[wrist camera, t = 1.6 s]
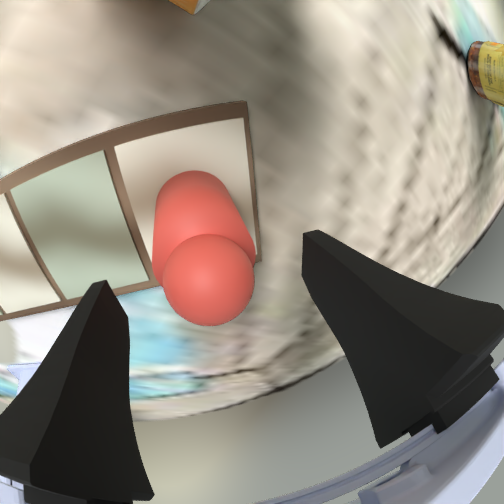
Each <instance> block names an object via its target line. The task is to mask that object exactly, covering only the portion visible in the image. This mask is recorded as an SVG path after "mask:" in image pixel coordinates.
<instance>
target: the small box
mask: <svg viewBox="0 0 504 504" xmlns="http://www.w3.org/2000/svg"><path fill="white" fill-rule="evenodd" d="M168 1H170V2H172V3H174V4H175V5H177V6H179V7H180V8H182V9H184V10H185V11H187V12H188V13H190V14H192V15H195V14H196V13H197V12H198V11H199V10H201V9H202V8H203V7H204V6H205V5H206V4H207V3H208V2H209V1H210V0H168Z"/></svg>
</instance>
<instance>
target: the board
mask: <svg viewBox="0 0 504 504" xmlns="http://www.w3.org/2000/svg"><path fill="white" fill-rule="evenodd" d="M192 170H198V171H204V172H207V173H210V174H212V175H214V176H216V177H217V178H218V179H219V180H221V181H222V183H223V184H224V185H225V187H226V189H227V190H228V192H229V194H230V196H231V198H232V200H233V202H234V204H235V206H236V208H237V210H238V212H239V214H240V216H241V218H242V220H243V222H244V224H245V226H246V228H247V230H248V232H249V234H250V236H251V238H252V240H253V242H254V245H255V250H256V258H255V263H256V262H260V261H262V258H261V247H260V236H259V225H258V214H257V203H256V192H255V181H254V171H253V160H252V150H251V140H250V129H249V119H248V110H247V102H246V101H236V102H228V103H222V104H215V105H209V106H203V107H198V108H193V109H188V110H183V111H178V112H173V113H169V114H165V115H161V116H157V117H153V118H149V119H145V120H141V121H138V122H134V123H131V124H128V125H124V126H121V127H118V128H115V129H112V130H109V131H106V132H103V133H100V134H97V135H94V136H91V137H89V138H86V139H83V140H81V141H78V142H76V143H73V144H71V145H68V146H66V147H63V148H61V149H59V150H57V151H54V152H52V153H50V154H48V155H45V156H43V157H41V158H39V159H37V160H35V161H33V162H31V163H29V164H27V165H25V166H23V167H21V168H19V169H17V170H16V171H14V172H12V173H10V174H8V175H6V176H5V177H3V178H1V179H0V321H3V320H8V319H13V318H18V317H22V316H27V315H32V314H36V313H41V312H46V311H50V310H55V309H59V308H64V307H69V306H73V305H78V304H79V302H80V300H81V299H82V297H83V296H84V294H85V293H86V291H87V290H88V288H89V287H90V286H91V284H92V283H94V282H99V281H103V280H107V281H108V283H109V285H110V287H111V289H112V291H113V292H114V294H115V296H117V295H122V294H126V293H131V292H135V291H139V290H143V289H148V288H152V287H156V286H161V285H160V284H159V282H158V281H157V279H156V277H155V275H154V272H153V269H152V246H153V230H154V218H155V206H156V199H157V196H158V193H159V191H160V189H161V188H162V186H163V185H164V184H165V183H166V182H167V181H168V180H169V179H170V178H172V177H173V176H175V175H177V174H179V173H182V172H185V171H192Z"/></svg>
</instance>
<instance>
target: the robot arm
mask: <svg viewBox="0 0 504 504" xmlns="http://www.w3.org/2000/svg"><path fill="white" fill-rule="evenodd" d="M302 277H303V280H304V282H305V284H306V287H307V289H308V291H309V293H310V295H311V297H312V299H313V301H314V302H315V304H316V306H317V307H318V309H319V311H320V312H321V314H322V316H323V317H324V319H325V320H326V322H327V324H328V325H329V327H330V328H331V330H332V332H333V333H334V335H335V337H336V338H337V340H338V342H339V343H340V345H341V347H342V349H343V351H344V353H345V355H346V357H347V359H348V362H349V364H350V366H351V368H352V371H353V373H354V376H355V378H356V380H357V383H358V386H359V388H360V391H361V393H362V396H363V399H364V402H365V405H366V408H367V410H368V413H369V417H370V420H371V424H372V427H373V430H374V434H375V438H376V441H377V443H378V445H379V447H380V448H383V447H384V446H386V445H388V444H390V443H392V442H393V441H395V440H397V439H398V438H400V437H401V436H403V435H405V434H406V433H408V432H409V433H410V435H411V438H409V439H408V440H406V441H405V442H403V443H401V444H400V445H398V446H396V447H395V448H393V449H391V450H390V451H388V452H386V453H384V454H382V455H381V456H379V457H377V458H375V459H373V460H371V461H369V462H367V463H365V464H363V465H361V466H359V467H357V468H355V469H353V470H350V471H348V472H346V473H344V474H342V475H339V476H337V477H334V478H332V479H329V480H327V481H324V482H322V483H319V484H316V485H314V486H311V487H308V488H305V489H302V490H299V491H296V492H293V493H289V494H286V495H282V496H279V497H275V498H271V499H268V500H263V501H259V502H255V503H250V504H321V503H324V502H327V501H329V500H332V499H334V498H337V497H339V496H341V495H343V494H346V493H348V492H351V491H353V490H355V489H357V488H359V487H361V486H363V485H365V484H368V483H369V482H371V481H373V480H375V479H377V478H379V477H381V476H383V475H385V474H386V473H388V472H390V471H392V470H393V469H395V468H397V467H398V466H400V465H401V467H400V470H399V471H397V472H395V473H392V474H390V475H387V476H385V477H383V478H381V479H379V480H377V481H376V482H374V483H372V484H371V485H369V486H367V487H366V488H364V489H362V490H360V491H359V492H358V496H359V498H358V499H356V500H353V501H351V502H348V503H346V504H469V503H470V502H471V501H472V500H473V499H474V497H475V496H476V495H477V493H478V492H479V491H480V490H481V488H482V487H483V486H484V484H485V483H486V482H487V480H488V479H489V478H490V476H491V475H492V473H493V472H494V470H495V469H496V467H497V466H498V464H499V463H500V461H501V459H502V458H503V456H504V359H503V360H502V361H501V362H500V363H499V364H498V365H497V366H496V367H495V368H494V369H493V368H492V367H491V364H492V363H493V358H492V357H491V355H490V353H491V352H492V351H493V350H494V349H495V347H496V346H497V345H498V344H499V343H500V341H501V340H502V339H503V338H504V310H503V309H502V307H501V306H500V305H498V304H494V303H488V302H483V301H478V300H473V299H469V298H465V297H461V296H457V295H454V294H450V293H448V292H444V291H442V290H439V289H436V288H433V287H430V286H427V285H425V284H422V283H420V282H417V281H415V280H413V279H411V278H408V277H406V276H404V275H401V274H399V273H397V272H395V271H393V270H391V269H389V268H387V267H385V266H383V265H381V264H379V263H377V262H375V261H374V260H372V259H370V258H368V257H366V256H365V255H363V254H361V253H359V252H357V251H356V250H354V249H352V248H350V247H349V246H347V245H345V244H344V243H342V242H340V241H338V240H337V239H335V238H333V237H331V236H330V235H328V234H326V233H324V232H322V231H320V230H314V231H310V232H306V233H303V253H302ZM129 355H130V336H129V323H128V316H127V315H126V313H125V311H124V310H123V308H122V306H121V305H120V303H119V301H118V299H117V298H116V296H115V294H114V292H113V291H112V289H111V287H110V285H109V283H108V281H107V280H103V281H99V282H94V283H92V284H91V286H90V287H89V288H88V290H87V291H86V293H85V294H84V296H83V297H82V299H81V300H80V302H79V304H78V305H77V307H76V308H75V310H74V312H73V313H72V315H71V317H70V318H69V320H68V322H67V323H66V325H65V327H64V328H63V330H62V331H61V333H60V334H59V336H58V338H57V339H56V341H55V343H54V344H53V346H52V347H51V349H50V351H49V352H48V354H47V355H46V357H45V358H44V360H43V361H42V363H38V364H25V365H9V366H7V370H8V371H9V372H10V373H11V374H13V375H14V376H15V377H16V378H17V379H18V380H19V384H18V389H17V395H16V398H15V399H14V400H13V401H12V402H11V404H10V405H9V406H8V407H7V408H6V409H5V411H4V412H3V413H2V414H1V415H0V502H1V504H133V501H132V500H136V501H137V500H138V501H150V500H151V499H152V498H153V496H154V492H153V490H152V487H151V485H150V482H149V480H148V477H147V474H146V472H145V469H144V466H143V463H142V460H141V456H140V452H139V449H138V445H137V441H136V436H135V432H134V427H133V421H132V415H131V409H130V399H129Z"/></svg>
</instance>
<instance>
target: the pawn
mask: <svg viewBox="0 0 504 504" xmlns="http://www.w3.org/2000/svg"><path fill="white" fill-rule="evenodd" d="M255 258H256V250H255V245H254V242H253V240H252V238H251V236H250V234H249V232H248V230H247V228H246V226H245V224H244V222H243V220H242V218H241V216H240V214H239V212H238V210H237V208H236V206H235V204H234V202H233V200H232V198H231V196H230V194H229V192H228V190H227V189H226V187H225V185H224V184H223V183H222V181H221V180H219V179H218V178H217V177H216V176H214V175H212V174H210V173H207V172H204V171H198V170H192V171H185V172H182V173H179V174H177V175H175V176H173V177H172V178H170V179H169V180H168V181H167V182H166V183H165V184H164V185H163V186H162V188H161V189H160V191H159V193H158V196H157V199H156V206H155V218H154V230H153V246H152V269H153V272H154V275H155V277H156V279H157V281H158V282H159V284H160V285H161V286H162V287H163V288H164V292H165V295H166V298H167V300H168V302H169V304H170V305H171V307H172V308H173V309H174V310H175V312H176V313H177V314H179V315H180V316H181V317H183V318H184V319H185V320H187V321H189V322H192V323H194V324H197V325H202V326H216V325H221V324H224V323H226V322H229V321H231V320H232V319H234V318H235V317H237V316H238V315H239V314H240V313H241V312H242V311H243V310H244V309H245V308H246V306H247V305H248V303H249V301H250V299H251V297H252V293H253V290H254V271H253V267H254V263H255Z"/></svg>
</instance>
